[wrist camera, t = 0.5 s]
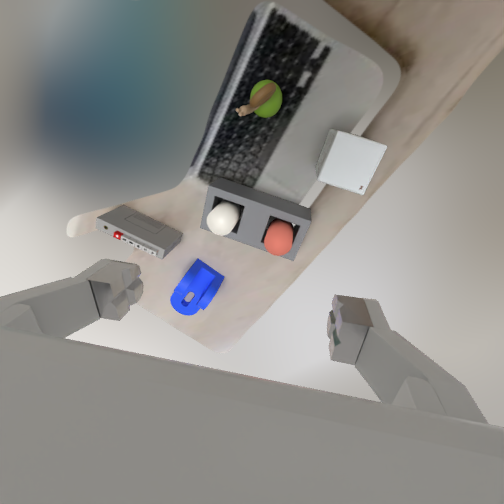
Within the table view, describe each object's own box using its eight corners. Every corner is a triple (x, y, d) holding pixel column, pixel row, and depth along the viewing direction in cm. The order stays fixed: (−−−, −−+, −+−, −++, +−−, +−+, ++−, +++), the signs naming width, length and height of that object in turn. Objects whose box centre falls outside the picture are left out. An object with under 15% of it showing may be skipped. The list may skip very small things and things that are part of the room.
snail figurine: (242, 102, 45) (224, 96, 35) (271, 74, 42) (260, 59, 32) (261, 128, 46) (248, 130, 36) (289, 103, 44) (285, 97, 33)
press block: (220, 177, 52) (208, 185, 46) (310, 208, 52) (311, 221, 45) (212, 215, 57) (200, 227, 50) (294, 244, 56) (293, 261, 50)
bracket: (198, 258, 63) (183, 277, 55) (224, 276, 64) (213, 298, 56) (169, 299, 72) (152, 321, 64) (193, 315, 73) (180, 338, 65)
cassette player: (122, 214, 61) (92, 229, 52) (123, 204, 60) (93, 219, 51) (180, 242, 62) (159, 261, 53) (182, 233, 60) (162, 252, 52)
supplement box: (369, 139, 44) (390, 145, 33) (349, 180, 48) (363, 197, 37) (329, 126, 44) (338, 128, 33) (313, 168, 48) (316, 181, 37)
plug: (220, 195, 49) (209, 205, 43) (244, 204, 49) (236, 214, 43) (215, 218, 51) (204, 230, 46) (237, 226, 51) (229, 239, 45)
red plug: (273, 214, 49) (269, 226, 43) (297, 222, 48) (296, 235, 43) (265, 235, 51) (260, 250, 45) (288, 243, 51) (286, 259, 45)
